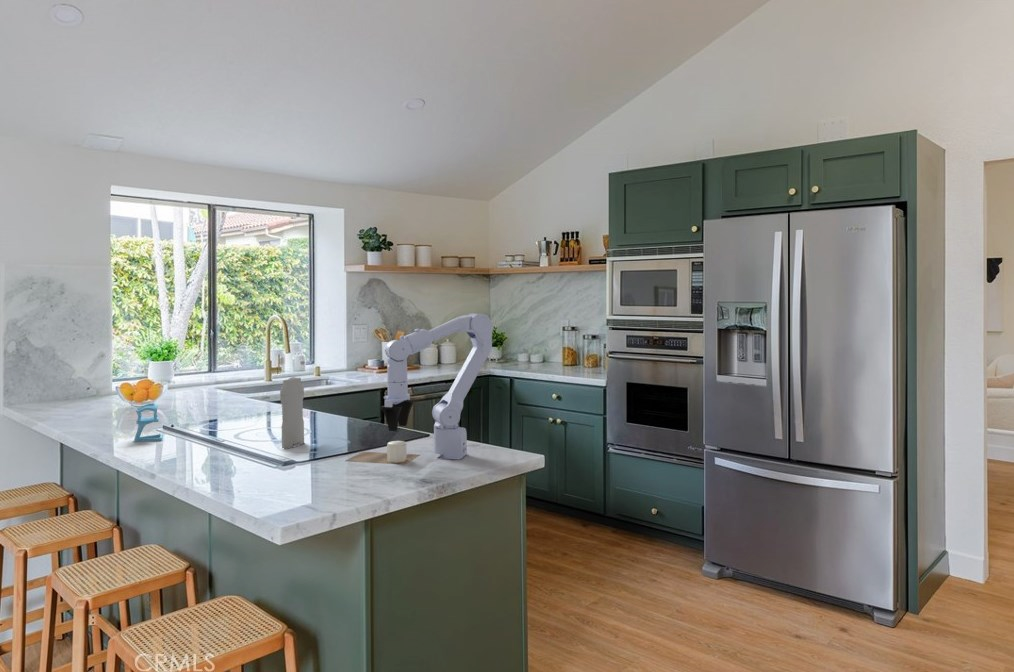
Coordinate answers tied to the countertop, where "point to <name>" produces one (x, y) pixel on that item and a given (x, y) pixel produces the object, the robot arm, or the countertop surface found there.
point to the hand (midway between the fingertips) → (398, 428)
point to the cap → (396, 451)
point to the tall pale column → (292, 412)
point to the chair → (145, 421)
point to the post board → (378, 458)
